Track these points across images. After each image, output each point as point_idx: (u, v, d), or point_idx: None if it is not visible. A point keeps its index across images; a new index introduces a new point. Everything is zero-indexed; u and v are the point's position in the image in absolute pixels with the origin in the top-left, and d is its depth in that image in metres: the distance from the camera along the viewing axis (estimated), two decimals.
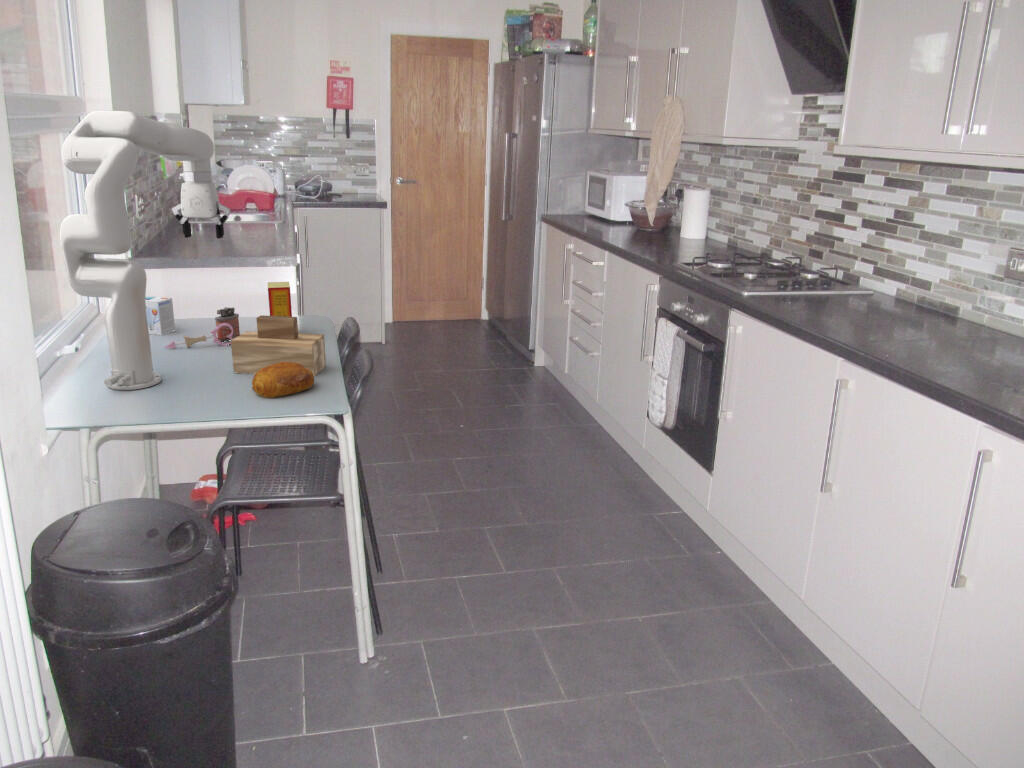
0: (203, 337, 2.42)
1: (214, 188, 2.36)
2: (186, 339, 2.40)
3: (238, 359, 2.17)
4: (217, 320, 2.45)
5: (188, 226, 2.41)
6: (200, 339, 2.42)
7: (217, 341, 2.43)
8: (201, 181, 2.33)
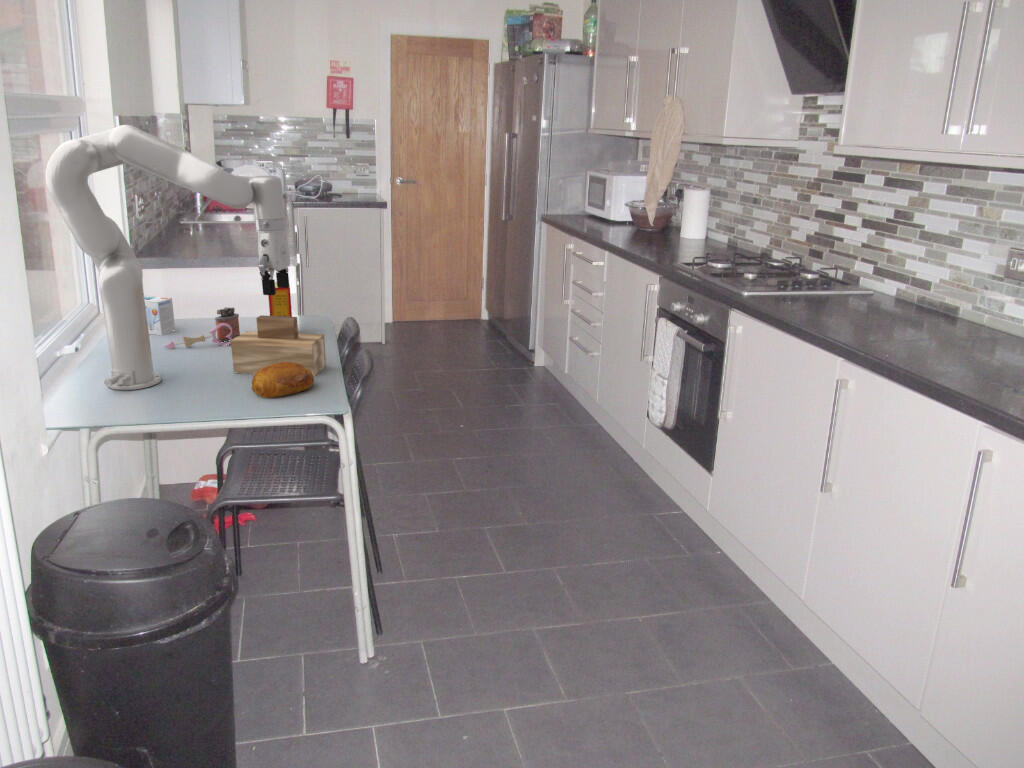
0: (202, 337, 2.42)
1: None
2: (185, 339, 2.40)
3: (238, 359, 2.17)
4: (217, 320, 2.45)
5: None
6: (199, 339, 2.42)
7: (216, 341, 2.43)
8: None
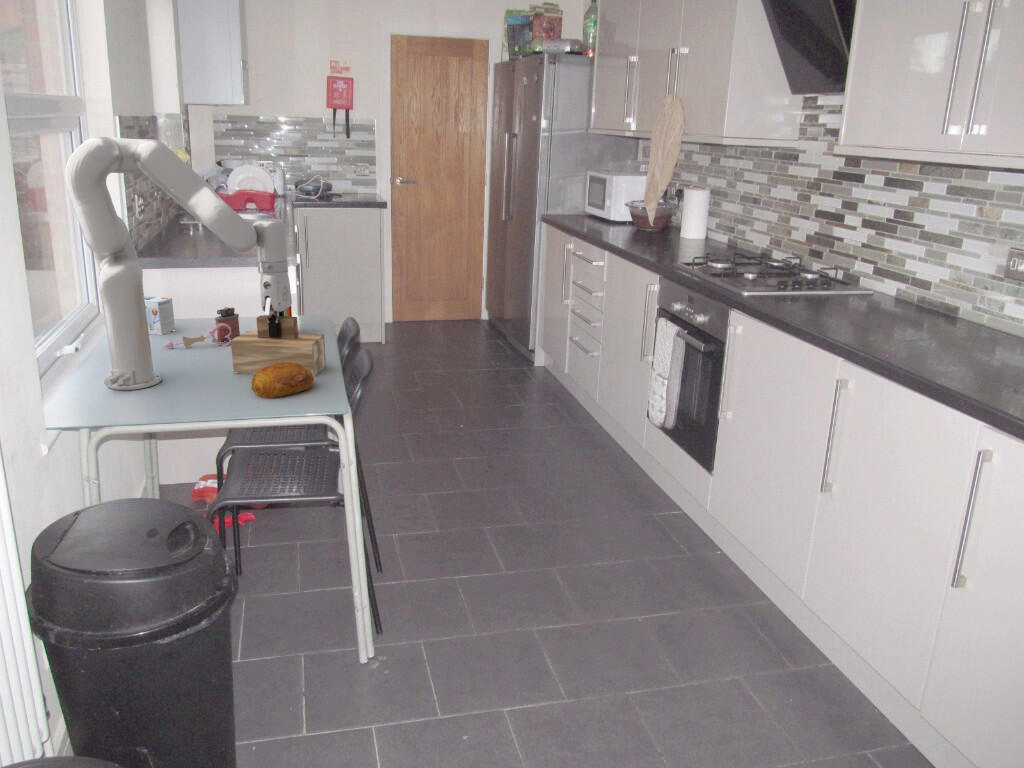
0: (201, 337, 2.42)
1: None
2: (184, 339, 2.40)
3: (238, 359, 2.17)
4: (217, 320, 2.45)
5: None
6: (198, 339, 2.41)
7: (215, 341, 2.43)
8: None
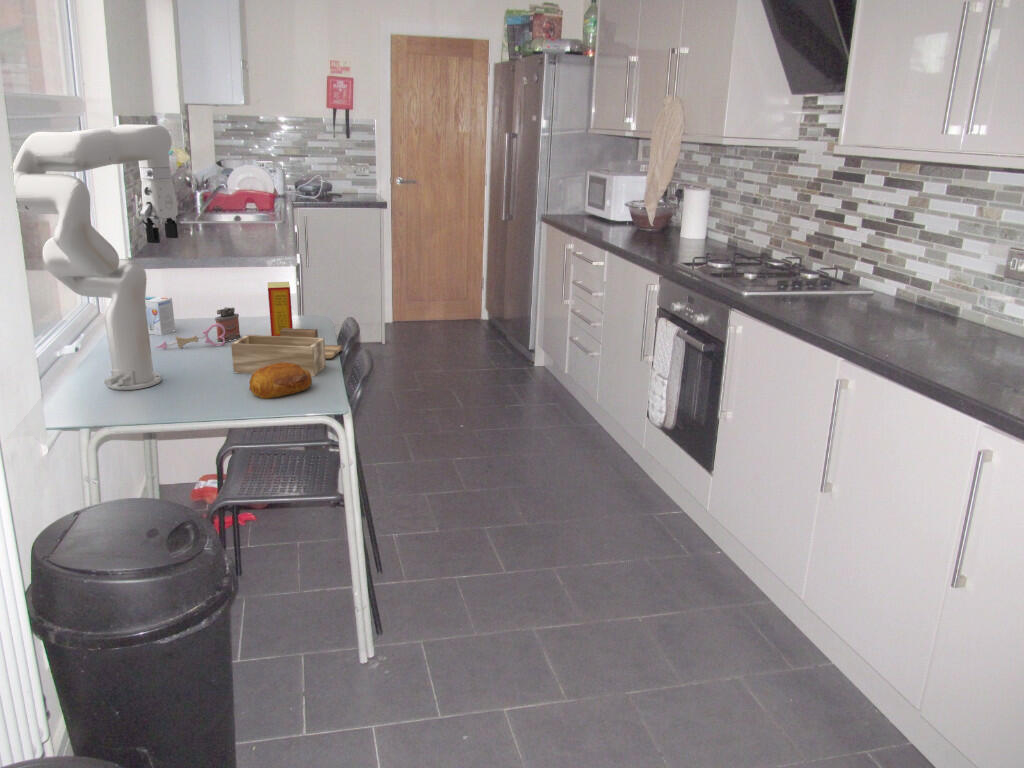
0: (195, 337, 2.41)
1: None
2: (178, 339, 2.39)
3: (238, 359, 2.17)
4: (217, 320, 2.45)
5: None
6: (192, 339, 2.41)
7: (209, 341, 2.42)
8: (170, 177, 2.16)
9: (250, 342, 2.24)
